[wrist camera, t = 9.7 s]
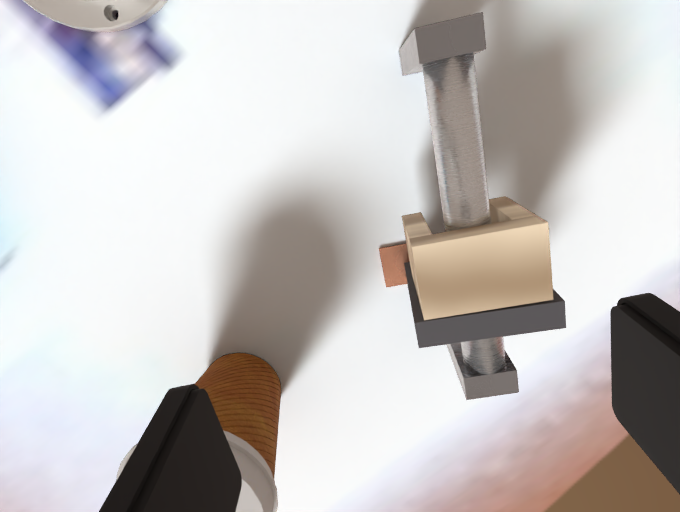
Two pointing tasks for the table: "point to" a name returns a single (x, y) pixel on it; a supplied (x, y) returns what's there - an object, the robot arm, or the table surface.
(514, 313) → the dark grey u-shaped piece
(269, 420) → the disposable coffee cup
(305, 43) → the table surface
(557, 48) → the table surface
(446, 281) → the sleeve
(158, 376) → the table surface
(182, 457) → the robot arm
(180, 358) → the table surface
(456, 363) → the grey long flanged piece
